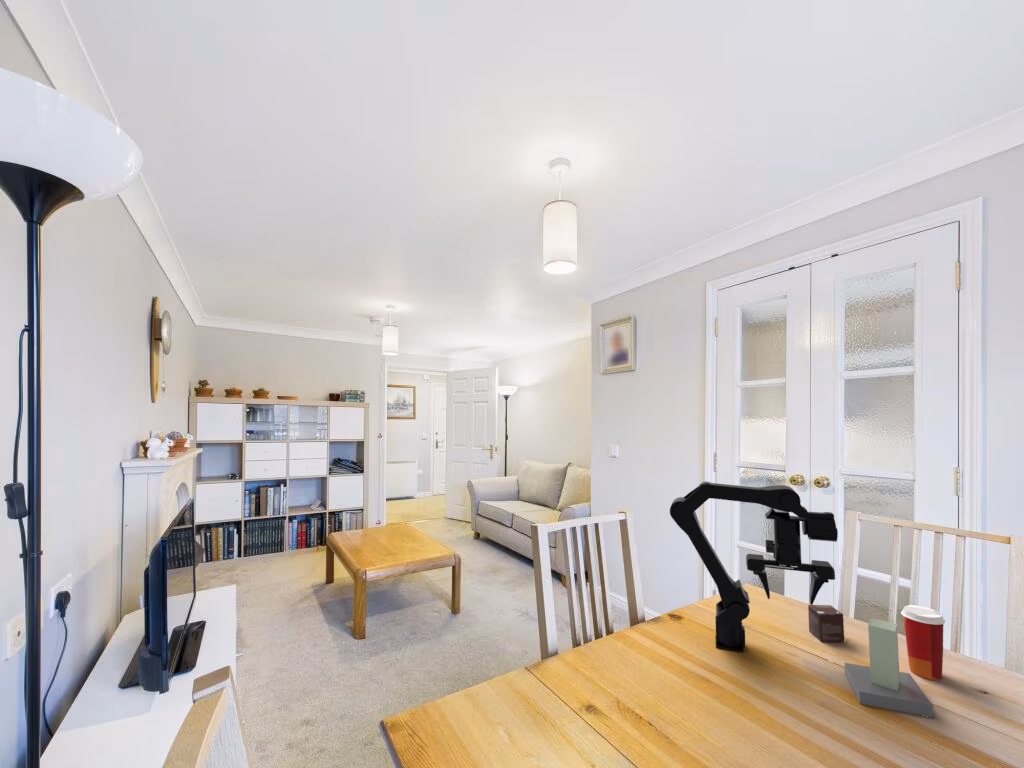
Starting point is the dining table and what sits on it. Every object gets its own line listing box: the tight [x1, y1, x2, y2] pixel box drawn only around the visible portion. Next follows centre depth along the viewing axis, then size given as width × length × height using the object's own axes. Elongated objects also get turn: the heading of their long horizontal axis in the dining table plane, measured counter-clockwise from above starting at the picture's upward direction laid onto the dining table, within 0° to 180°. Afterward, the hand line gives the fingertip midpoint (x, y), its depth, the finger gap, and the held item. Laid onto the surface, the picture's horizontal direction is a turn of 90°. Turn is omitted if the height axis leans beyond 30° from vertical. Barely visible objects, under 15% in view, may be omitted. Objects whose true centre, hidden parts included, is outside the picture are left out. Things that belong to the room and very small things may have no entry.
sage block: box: [867, 617, 900, 691], centre depth 102 cm, size 4×4×12 cm
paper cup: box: [900, 604, 946, 681], centre depth 110 cm, size 8×8×14 cm
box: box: [807, 604, 845, 643], centre depth 127 cm, size 6×6×7 cm
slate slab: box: [844, 662, 934, 718], centre depth 102 cm, size 12×12×2 cm
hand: (789, 601), depth 119 cm, fingers open, 9 cm apart
